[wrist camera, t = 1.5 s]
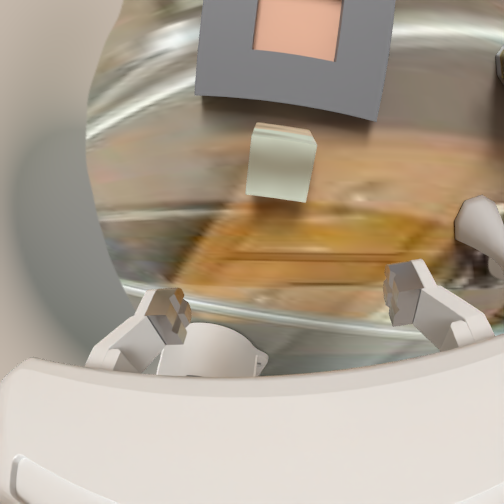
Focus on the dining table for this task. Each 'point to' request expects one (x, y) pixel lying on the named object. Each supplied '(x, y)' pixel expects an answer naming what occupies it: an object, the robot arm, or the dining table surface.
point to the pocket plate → (297, 52)
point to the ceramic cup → (500, 64)
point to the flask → (481, 227)
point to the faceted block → (280, 162)
